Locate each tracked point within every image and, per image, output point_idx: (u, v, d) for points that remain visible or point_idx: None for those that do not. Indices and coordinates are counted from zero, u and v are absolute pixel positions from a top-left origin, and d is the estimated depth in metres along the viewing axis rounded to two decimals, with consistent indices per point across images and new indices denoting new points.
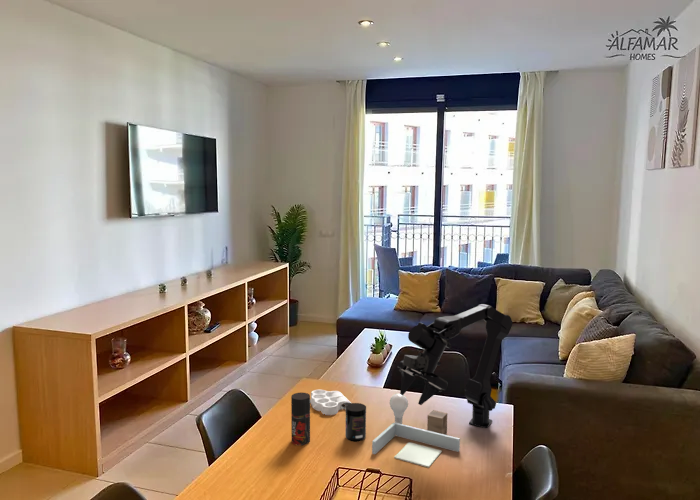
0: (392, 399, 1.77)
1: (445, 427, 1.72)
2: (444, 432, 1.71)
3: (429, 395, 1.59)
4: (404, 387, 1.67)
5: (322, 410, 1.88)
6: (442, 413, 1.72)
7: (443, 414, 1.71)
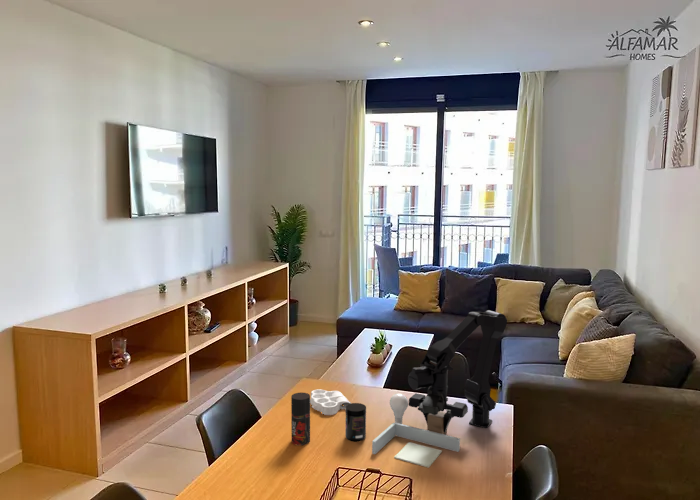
0: (392, 399, 1.77)
1: None
2: (444, 432, 1.71)
3: (449, 420, 1.70)
4: None
5: (321, 410, 1.88)
6: (442, 413, 1.72)
7: (443, 414, 1.71)
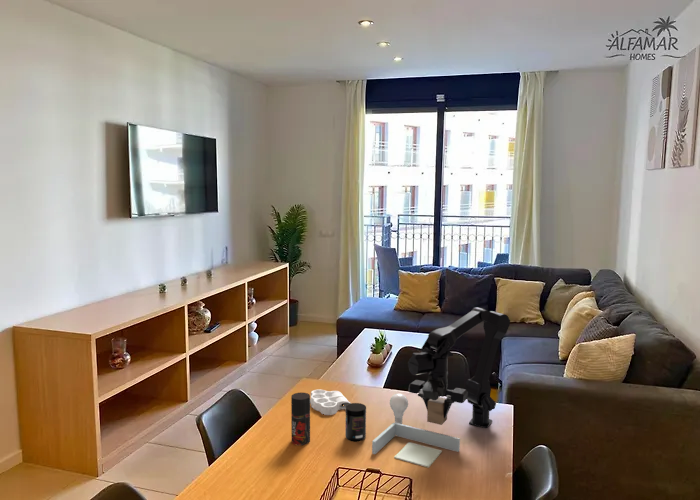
0: (392, 399, 1.77)
1: None
2: (444, 418, 1.70)
3: (449, 406, 1.70)
4: None
5: (321, 410, 1.88)
6: (442, 399, 1.71)
7: (443, 400, 1.71)
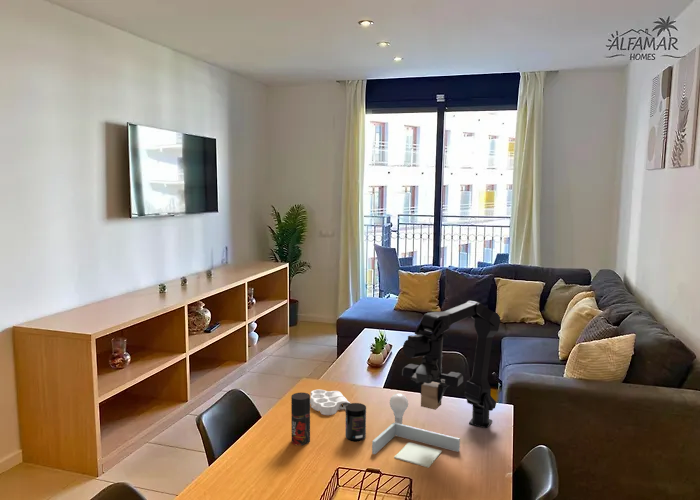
0: (392, 399, 1.77)
1: None
2: (438, 403, 1.65)
3: (444, 390, 1.64)
4: None
5: (320, 410, 1.88)
6: (437, 383, 1.66)
7: None
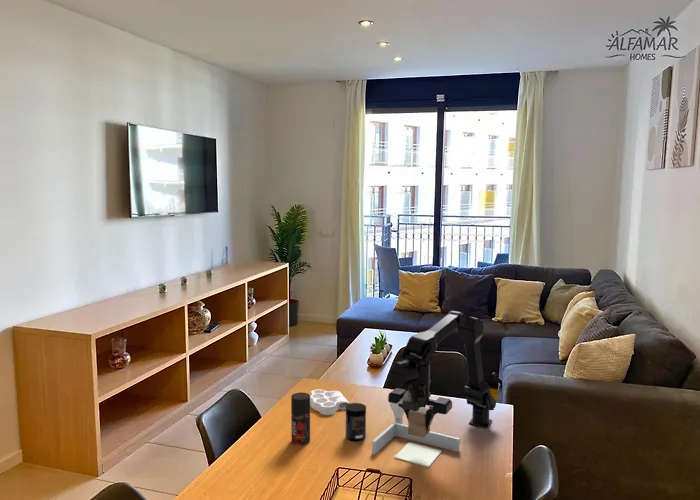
0: None
1: None
2: (427, 430, 1.56)
3: (432, 417, 1.56)
4: None
5: (320, 410, 1.88)
6: (424, 409, 1.58)
7: (425, 410, 1.57)
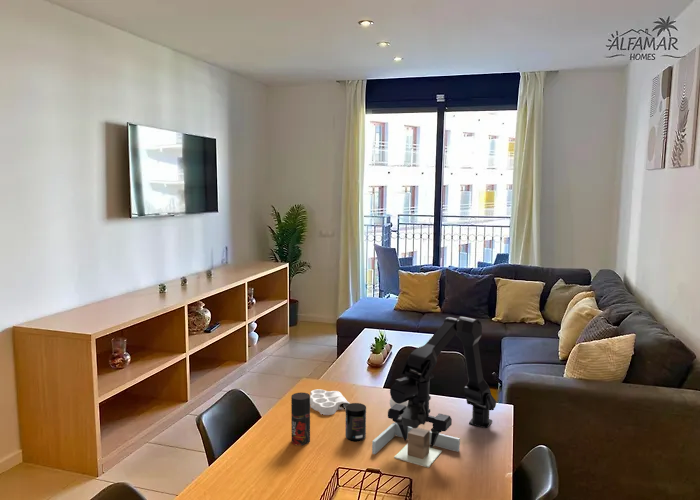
0: (392, 399, 1.77)
1: (427, 445, 1.58)
2: (426, 451, 1.57)
3: (437, 434, 1.56)
4: (405, 433, 1.60)
5: (320, 410, 1.88)
6: (424, 430, 1.58)
7: (425, 431, 1.57)
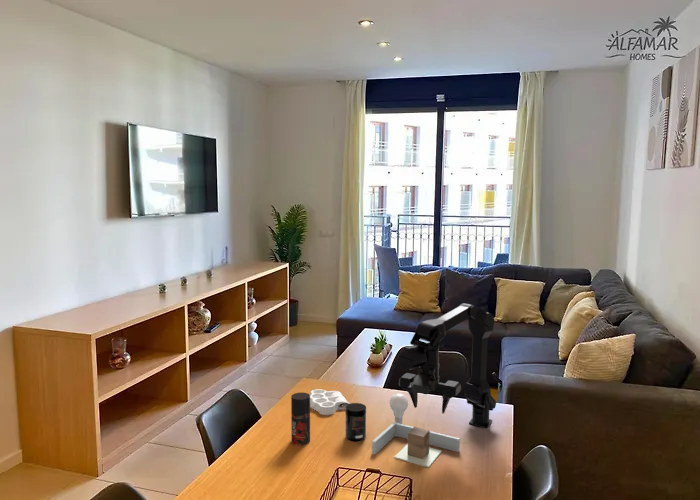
0: (392, 399, 1.77)
1: (427, 445, 1.58)
2: (426, 451, 1.57)
3: (448, 401, 1.61)
4: (415, 400, 1.66)
5: (319, 410, 1.88)
6: (424, 430, 1.58)
7: (425, 431, 1.57)
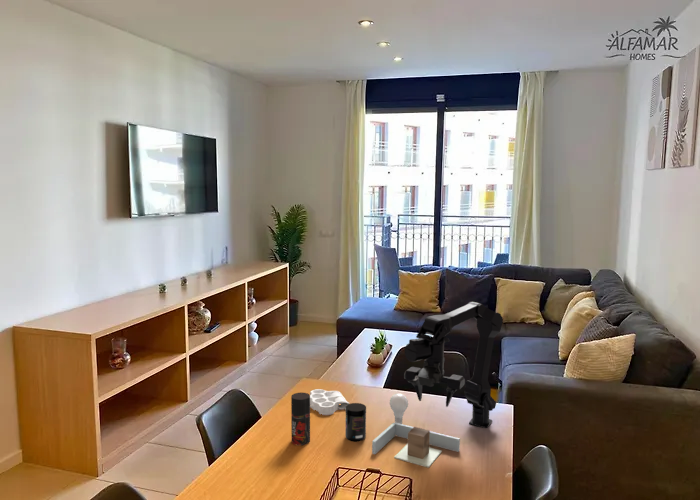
0: (392, 399, 1.77)
1: (427, 445, 1.58)
2: (426, 451, 1.57)
3: (452, 394, 1.65)
4: (420, 393, 1.69)
5: (319, 410, 1.88)
6: (424, 430, 1.58)
7: (425, 431, 1.57)
